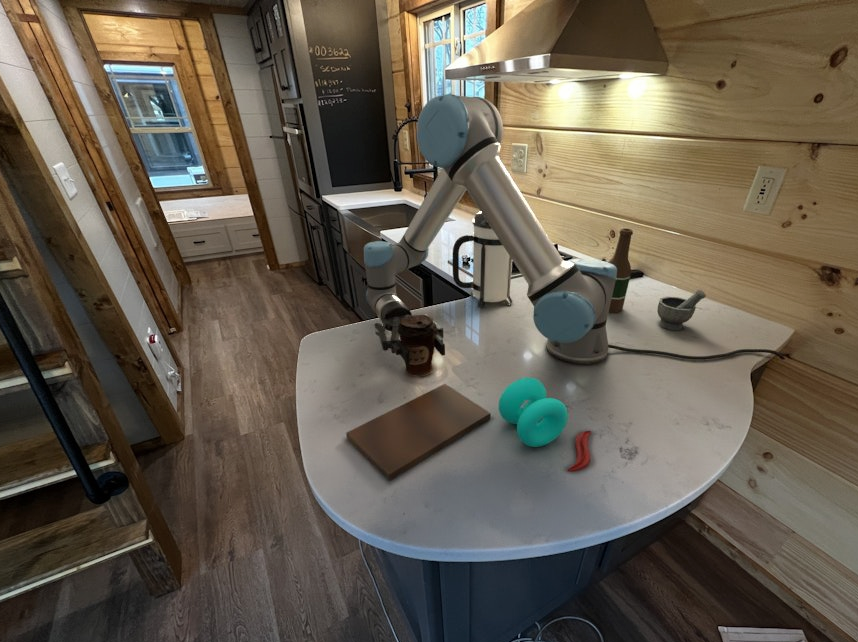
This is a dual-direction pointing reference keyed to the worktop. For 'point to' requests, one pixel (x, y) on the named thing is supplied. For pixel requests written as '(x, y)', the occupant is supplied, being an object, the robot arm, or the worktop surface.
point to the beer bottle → (621, 270)
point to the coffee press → (485, 264)
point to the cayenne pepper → (581, 451)
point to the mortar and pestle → (677, 310)
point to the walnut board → (416, 430)
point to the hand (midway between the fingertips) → (425, 354)
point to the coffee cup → (418, 343)
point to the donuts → (533, 412)
